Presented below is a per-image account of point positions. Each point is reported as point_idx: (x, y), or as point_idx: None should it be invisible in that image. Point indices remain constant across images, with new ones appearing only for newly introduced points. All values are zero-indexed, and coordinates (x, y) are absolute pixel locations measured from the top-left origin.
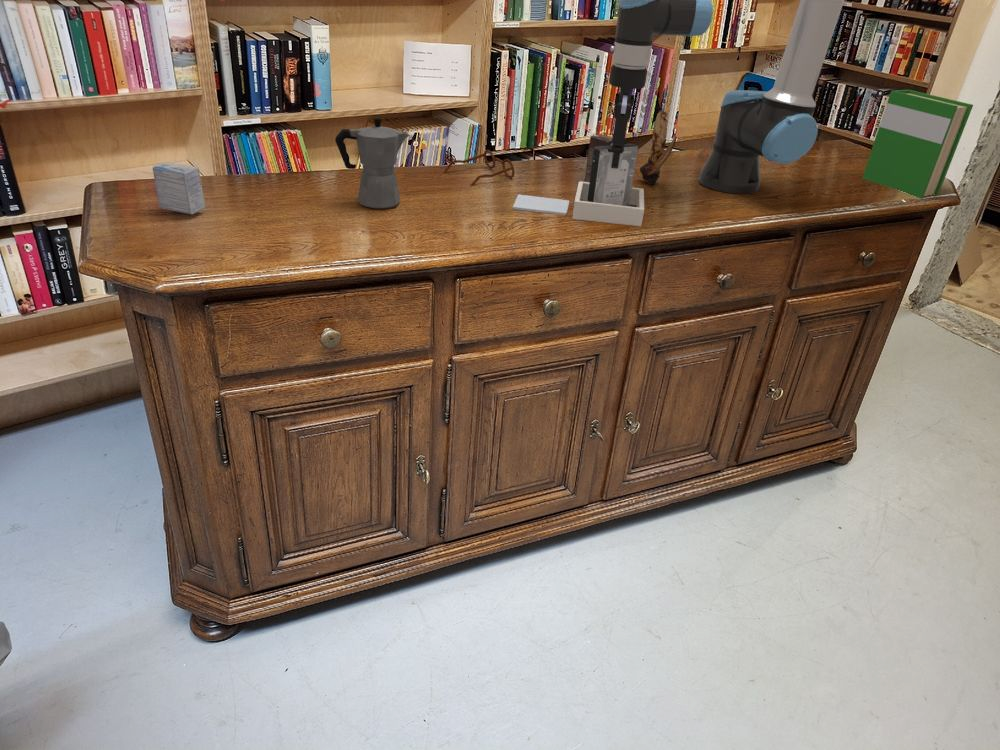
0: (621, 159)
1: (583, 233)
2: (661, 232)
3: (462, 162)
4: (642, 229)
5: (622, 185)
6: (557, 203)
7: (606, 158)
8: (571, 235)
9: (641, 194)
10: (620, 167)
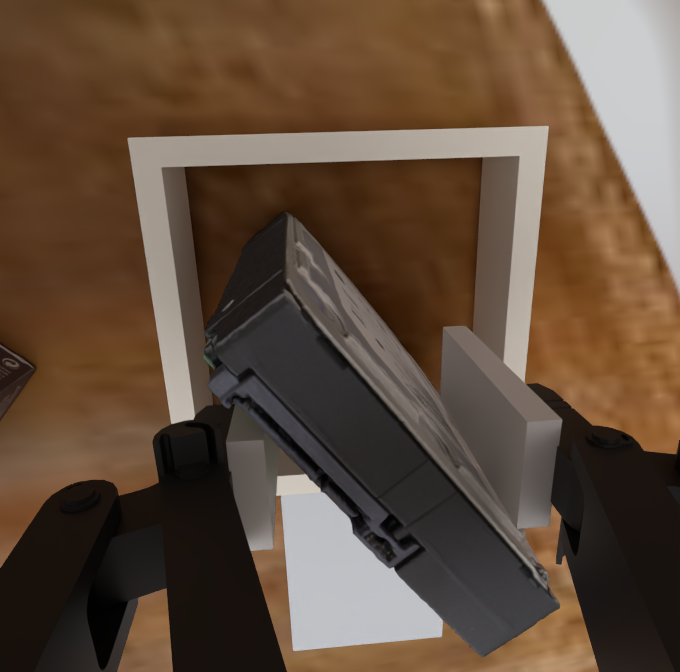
0: (532, 396)
1: (632, 374)
2: (548, 17)
3: None
4: (528, 123)
5: (344, 288)
6: (341, 514)
7: (500, 504)
8: (660, 412)
9: (261, 149)
10: (504, 367)
